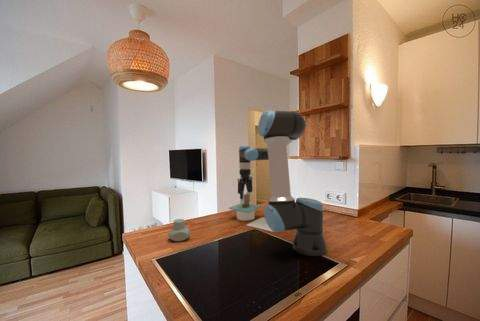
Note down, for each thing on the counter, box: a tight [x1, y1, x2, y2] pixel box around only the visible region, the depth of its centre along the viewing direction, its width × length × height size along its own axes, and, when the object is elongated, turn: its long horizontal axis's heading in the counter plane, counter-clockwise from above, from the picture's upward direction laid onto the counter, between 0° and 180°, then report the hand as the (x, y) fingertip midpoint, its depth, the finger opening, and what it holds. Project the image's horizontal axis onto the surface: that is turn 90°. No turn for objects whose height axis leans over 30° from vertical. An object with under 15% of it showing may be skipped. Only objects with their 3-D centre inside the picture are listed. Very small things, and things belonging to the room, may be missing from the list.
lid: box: [228, 193, 263, 213], centre depth 146 cm, size 16×16×9 cm
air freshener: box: [168, 218, 191, 242], centre depth 113 cm, size 11×8×10 cm
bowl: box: [236, 210, 256, 222], centre depth 146 cm, size 12×12×7 cm
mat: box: [246, 216, 274, 232], centre depth 134 cm, size 19×19×1 cm
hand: (245, 202), depth 146 cm, fingers open, 6 cm apart
